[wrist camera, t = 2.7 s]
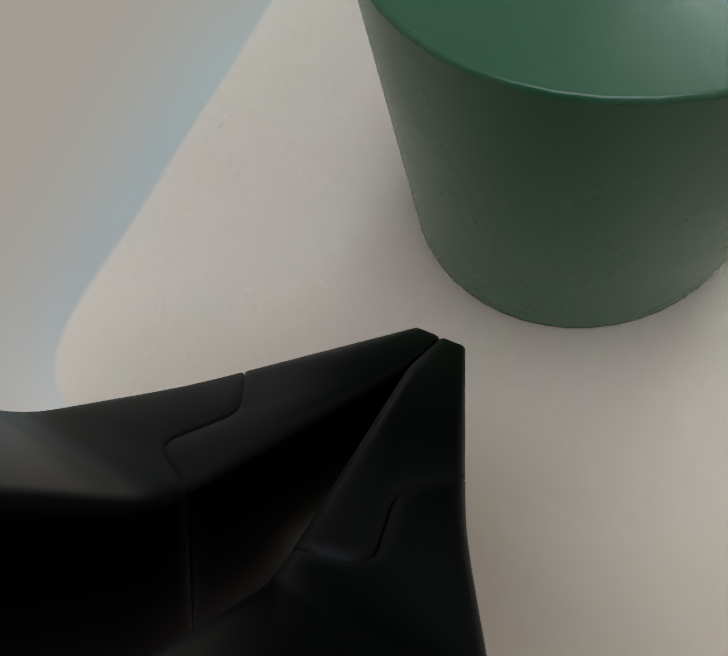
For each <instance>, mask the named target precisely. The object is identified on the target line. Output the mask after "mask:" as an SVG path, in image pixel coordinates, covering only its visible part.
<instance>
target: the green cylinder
mask: <svg viewBox="0 0 728 656" xmlns="http://www.w3.org/2000/svg"><path fill="white" fill-rule="evenodd" d="M358 3H359V6H360V10H361V13H362V17H363V20H364V24H365V28H366V31H367V35H368V38H369V42H370V46H371V49H372V53H373V56H374V60H375V63H376V67H377V71H378V74H379V78H380V81H381V85H382V89H383V92H384V96H385V99H386V103H387V107H388V110H389V114H390V117H391V121H392V124H393V128H394V132H395V135H396V139H397V142H398V146H399V150H400V153H401V157H402V160H403V164H404V167H405V171H406V175H407V178H408V182H409V185H410V189H411V193H412V196H413V200H414V203H415V207H416V211H417V214H418V218H419V221H420V225H421V228H422V231H423V234H424V236H425V238H426V241H427V243H428V245H429V247H430V249H431V250H432V252H433V254H434V255H435V257H436V259H437V260H438V262H439V263H440V264H441V266H442V267H443V268H444V269H445V270H446V272H447V273H448V274H449V275H450V276H451V277H452V278H453V279H454V280H455V281H456V282H457V283H458V284H459V285H460V286H462V287H463V288H464V289H465V290H466V291H467V292H469V293H470V294H472V295H473V296H475V297H476V298H478V299H479V300H480V301H482V302H483V303H485V304H487V305H489V306H491V307H493V308H495V309H497V310H499V311H501V312H503V313H506V314H509V315H512V316H514V317H517V318H520V319H522V320H526V321H531V322H535V323H539V324H544V325H551V326H560V327H599V326H606V325H614V324H619V323H623V322H627V321H631V320H635V319H639V318H642V317H645V316H647V315H650V314H652V313H655V312H658V311H660V310H663V309H664V308H666V307H668V306H670V305H672V304H674V303H675V302H677V301H679V300H681V299H683V298H684V297H686V296H687V295H688V294H690V293H691V292H693V291H694V290H695V289H697V288H698V287H699V286H701V285H702V284H703V283H704V282H705V281H706V280H707V279H708V278H709V277H710V276H711V275H712V274H714V273H715V272H716V271H717V270H718V269H719V268H720V267H721V265H722V264H723V263H724V262H725V261H726V260H727V259H728V0H358Z"/></svg>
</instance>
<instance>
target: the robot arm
mask: <svg viewBox="0 0 728 656" xmlns="http://www.w3.org/2000/svg"><path fill="white" fill-rule="evenodd" d="M464 480H465V348H464V347H463V346H462V345H460V344H457V343H455V342H452V341H450V340H447V339H444V338H442V339H439V338H438V336H436V335H434V334H432V333H429V332H427V331H424V330H422V329H419V328H413V329H409V330H405V331H401V332H397V333H393V334H389V335H386V336H382V337H378V338H374V339H370V340H366V341H362V342H358V343H355V344H351V345H347V346H343V347H339V348H335V349H331V350H327V351H324V352H320V353H316V354H312V355H308V356H304V357H300V358H296V359H293V360H289V361H285V362H281V363H277V364H273V365H269V366H265V367H261V368H258V369H254V370H250V371H247V372H245V376H244V374H243V373H238V374H234V375H230V376H226V377H222V378H218V379H214V380H210V381H205V382H201V383H197V384H193V385H188V386H184V387H178V388H173V389H168V390H163V391H158V392H152V393H147V394H141V395H136V396H130V397H124V398H118V399H113V400H107V401H101V402H95V403H90V404H84V405H78V406H72V407H67V408H61V409H55V410H47V411H40V412H8V411H0V656H487V655H486V649H485V643H484V637H483V632H482V626H481V620H480V614H479V609H478V603H477V597H476V591H475V585H474V580H473V574H472V568H471V561H470V553H469V545H468V538H467V527H466V506H465V481H464Z"/></svg>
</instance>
